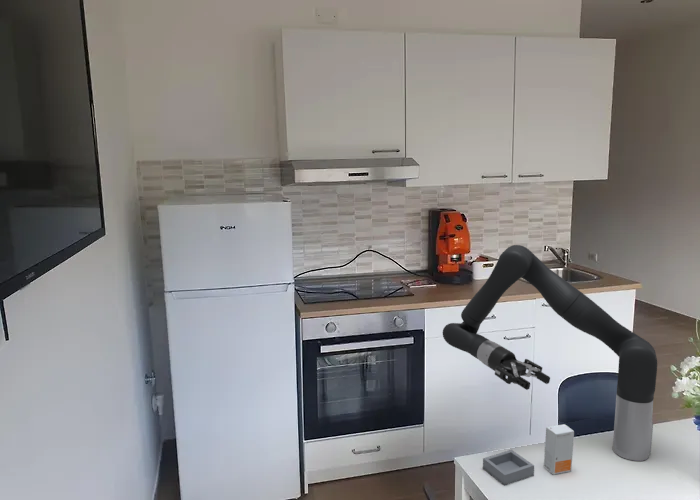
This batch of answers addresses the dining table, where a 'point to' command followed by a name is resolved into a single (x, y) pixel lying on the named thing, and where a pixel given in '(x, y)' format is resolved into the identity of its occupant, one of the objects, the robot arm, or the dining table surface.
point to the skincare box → (558, 449)
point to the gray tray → (508, 467)
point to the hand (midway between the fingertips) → (539, 383)
